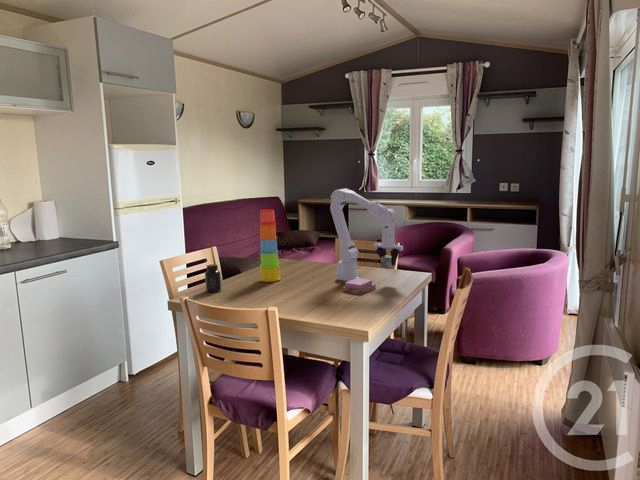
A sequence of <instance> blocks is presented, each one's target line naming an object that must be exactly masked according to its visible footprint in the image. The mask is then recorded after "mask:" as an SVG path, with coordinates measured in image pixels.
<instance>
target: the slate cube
mask: <svg viewBox="0 0 640 480" xmlns="http://www.w3.org/2000/svg"><path fill="white" fill-rule="evenodd" d="M396 263H397V262H396ZM396 263H395V265H392V257H391V255H386V254H385V256H383V257H381V260H380V268H381V269H387V270H388V269H389V270H391V269H394V268H396V267H397V266H396V265H397V264H396Z"/></svg>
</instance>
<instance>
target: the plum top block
mask: <svg viewBox="0 0 640 480" xmlns="http://www.w3.org/2000/svg"><path fill="white" fill-rule="evenodd" d="M372 284H373V280H371V279H366V278H361V277H360V278H356V279H353V280H351V281H345V282H344V286H345V287H348V288H354V289H360V290H361V289H363V288H365V287H368V286H370V285H372Z"/></svg>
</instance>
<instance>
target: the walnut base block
mask: <svg viewBox="0 0 640 480" xmlns="http://www.w3.org/2000/svg"><path fill="white" fill-rule="evenodd" d="M376 285H377V284H376V283H372V285H370V286H368V287H365V288H363V289H361V290H360V289H354V288H348V287H345V285H344V286H342V287H341V289H342V292H343V293H344V292H345V293H350V294H356V295H364V294H366V293H369V292H371V291H372V290H376V288H377V287H376Z"/></svg>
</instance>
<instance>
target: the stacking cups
mask: <svg viewBox="0 0 640 480" xmlns="http://www.w3.org/2000/svg"><path fill="white" fill-rule="evenodd" d="M275 215H276V214H275V211H274V209H260V211H259V220H260V223H259V233H260V234H259V235H260V236H259V242H260V243H259V245H260V246H259V247H260V251H259V254H260V264H259V267H260V275H261V277H260V278H259V280H260V282H263V283H264V282H265V283H268V282H271V283H273V282H277V281H278V282H279V281H280V280H281V279H282V277H280V263H279V256H278V255H279V254H278V253H279V250H278V242H277V239H278V236H277V230H276V225H277V223H276V216H275Z"/></svg>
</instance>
